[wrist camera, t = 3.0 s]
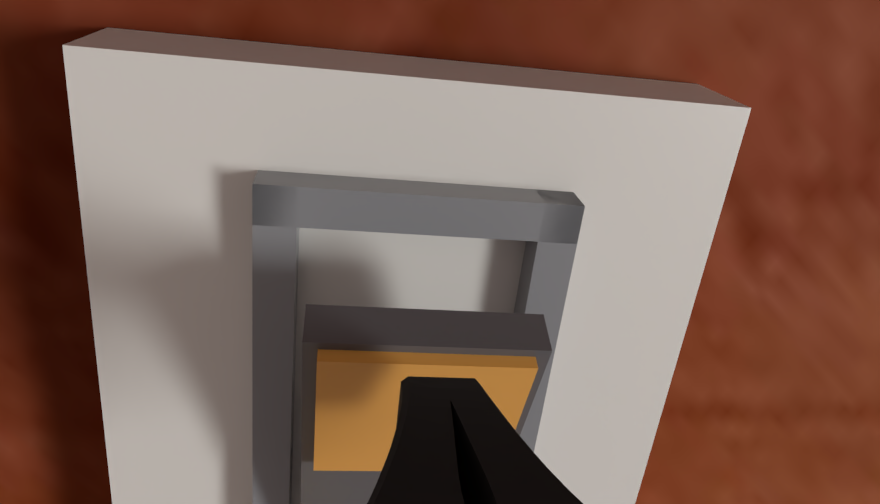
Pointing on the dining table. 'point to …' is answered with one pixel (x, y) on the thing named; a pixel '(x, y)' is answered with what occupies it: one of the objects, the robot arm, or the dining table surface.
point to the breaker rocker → (399, 381)
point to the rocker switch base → (377, 240)
